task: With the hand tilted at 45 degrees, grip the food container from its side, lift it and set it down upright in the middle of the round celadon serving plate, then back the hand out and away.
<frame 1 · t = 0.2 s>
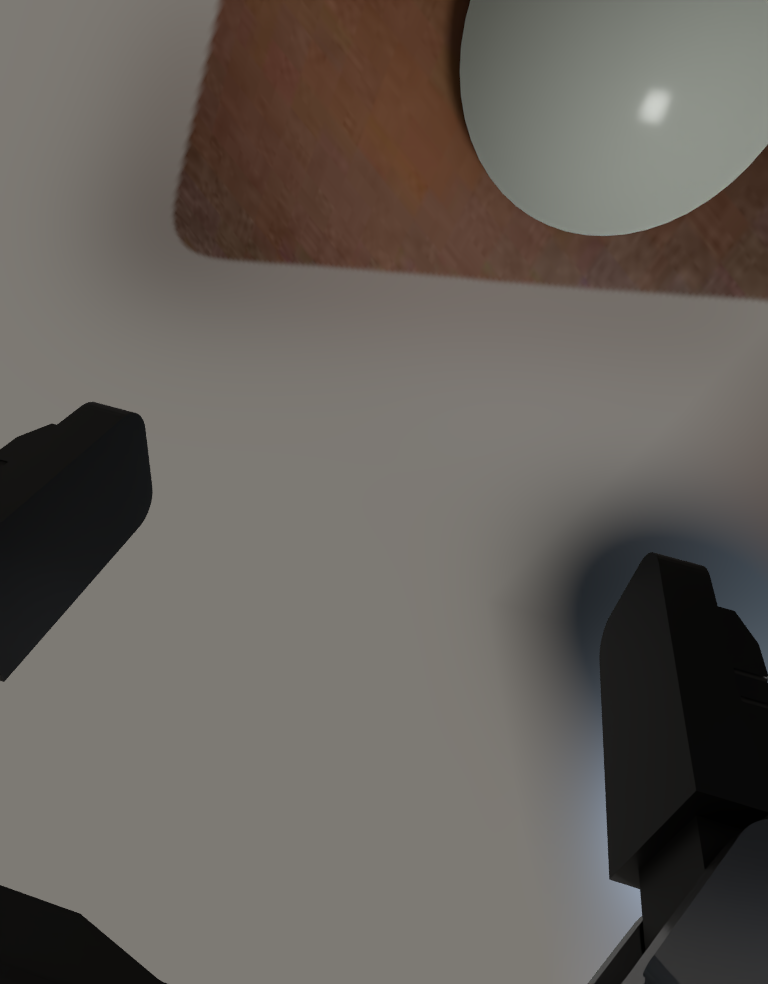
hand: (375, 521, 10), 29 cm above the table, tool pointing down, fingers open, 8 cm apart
serving plate: (625, 58, 28), on the table
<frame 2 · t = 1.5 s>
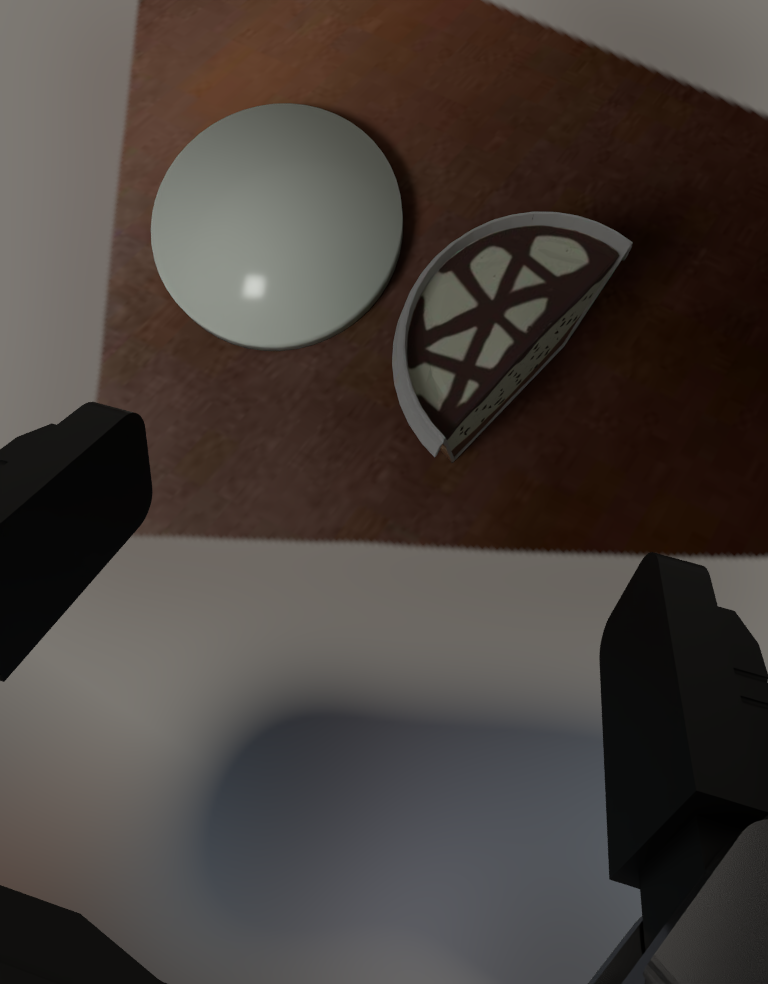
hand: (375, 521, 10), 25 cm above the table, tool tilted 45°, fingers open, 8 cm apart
food container: (468, 369, 36), on the table
serving plate: (279, 231, 37), on the table
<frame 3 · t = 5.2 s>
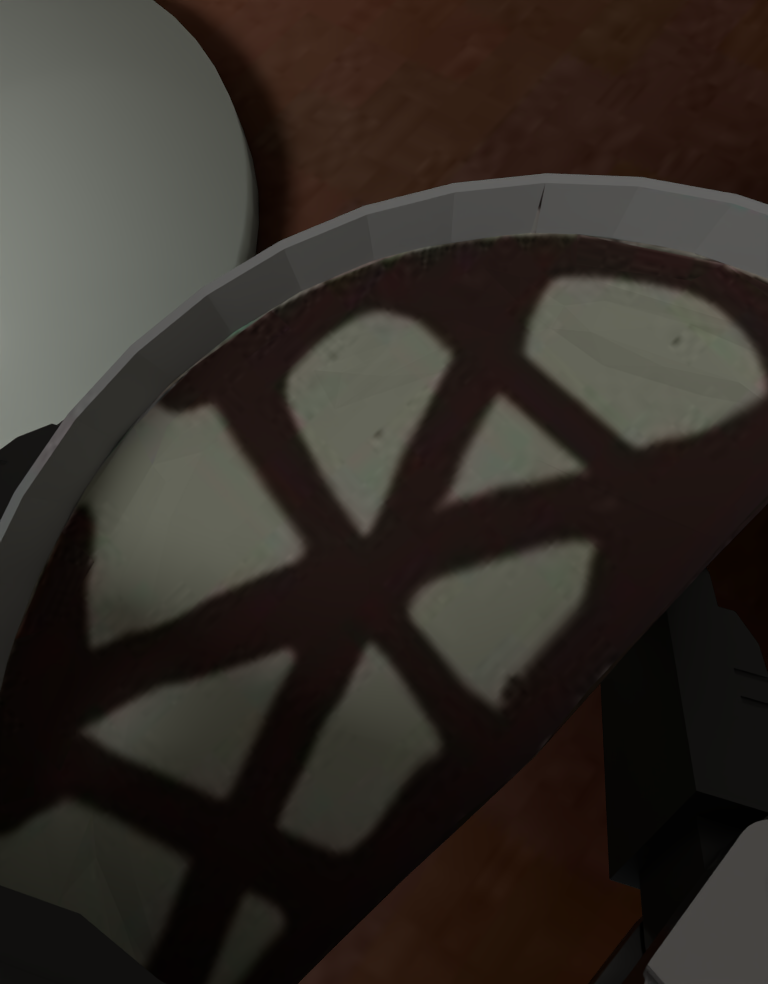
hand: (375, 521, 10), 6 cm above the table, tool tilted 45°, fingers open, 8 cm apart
food container: (383, 559, 16), on the table, touching gripper
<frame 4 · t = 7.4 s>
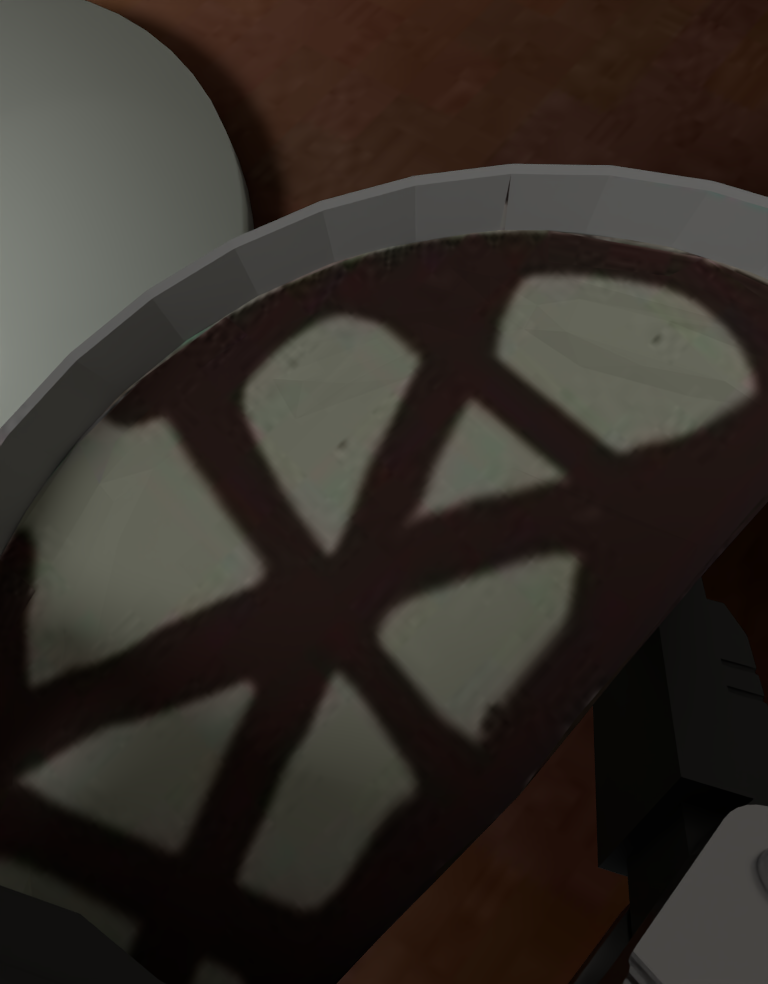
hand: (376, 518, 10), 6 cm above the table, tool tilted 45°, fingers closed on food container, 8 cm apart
food container: (366, 582, 15), point 1 cm above the table, touching gripper
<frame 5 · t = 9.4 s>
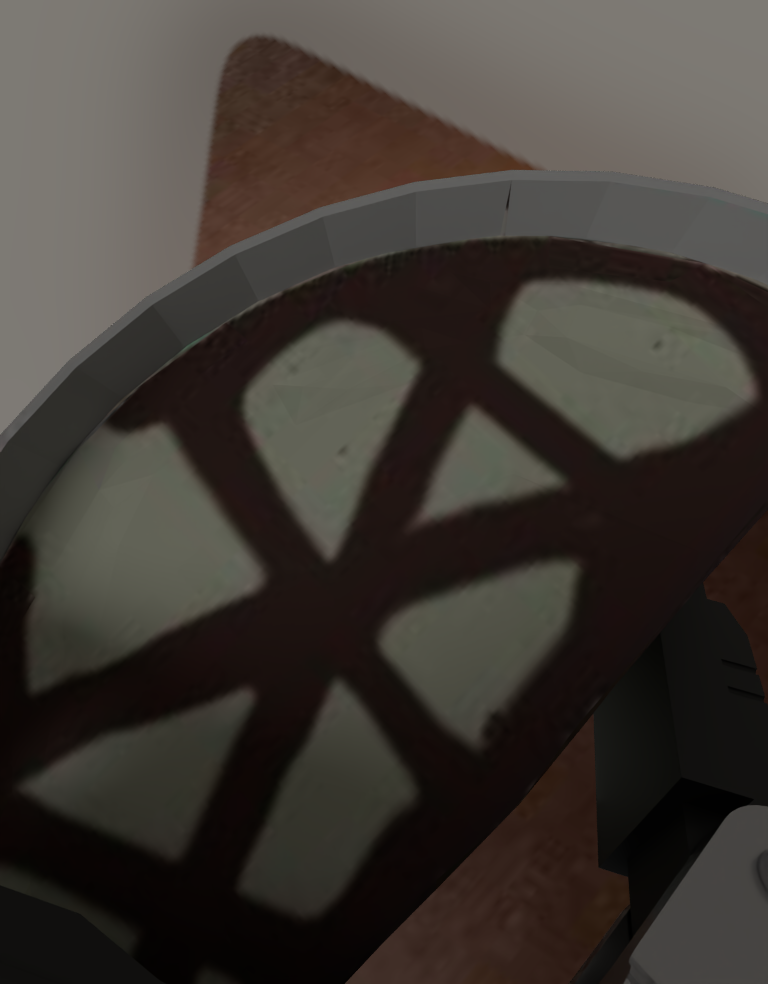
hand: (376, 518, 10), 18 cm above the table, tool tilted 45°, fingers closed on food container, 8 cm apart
food container: (366, 585, 15), point 12 cm above the table, touching gripper
when the fingers open (8 cm above the table, at t = 12.5 s): food container drops 1 cm, resting on serving plate.
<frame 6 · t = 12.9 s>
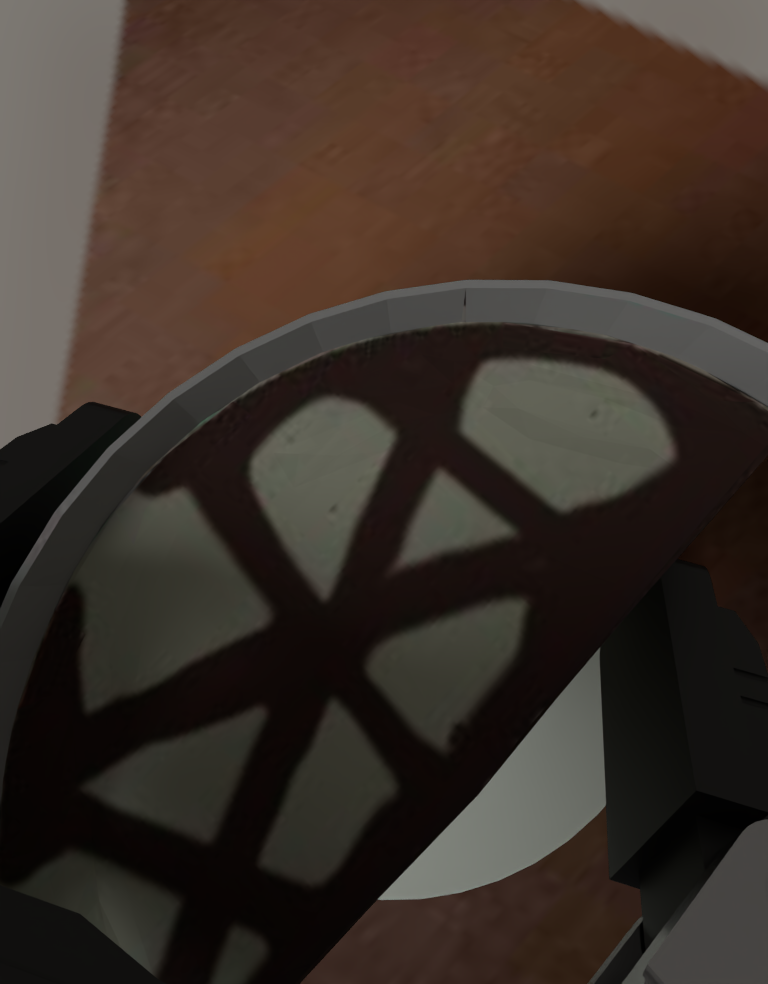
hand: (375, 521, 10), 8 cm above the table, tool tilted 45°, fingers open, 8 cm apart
food container: (365, 586, 16), point 1 cm above the table, touching serving plate
serving plate: (388, 591, 17), on the table
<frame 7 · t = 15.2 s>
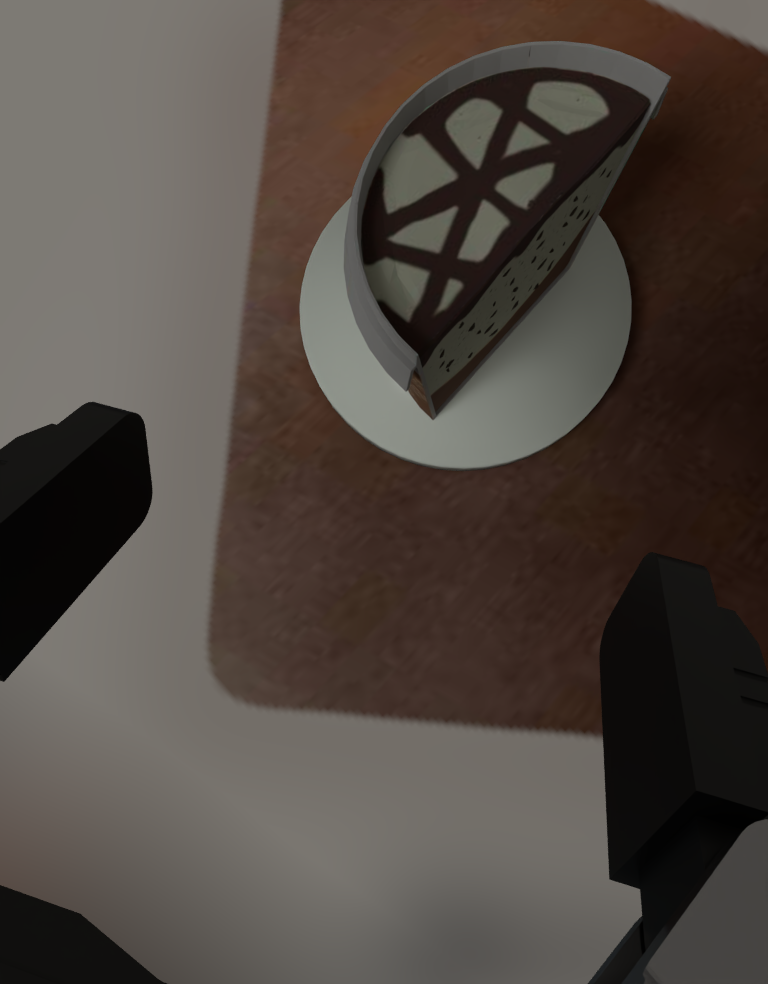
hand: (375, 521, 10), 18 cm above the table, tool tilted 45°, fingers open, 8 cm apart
food container: (450, 303, 28), point 1 cm above the table, touching serving plate
serving plate: (461, 315, 29), on the table
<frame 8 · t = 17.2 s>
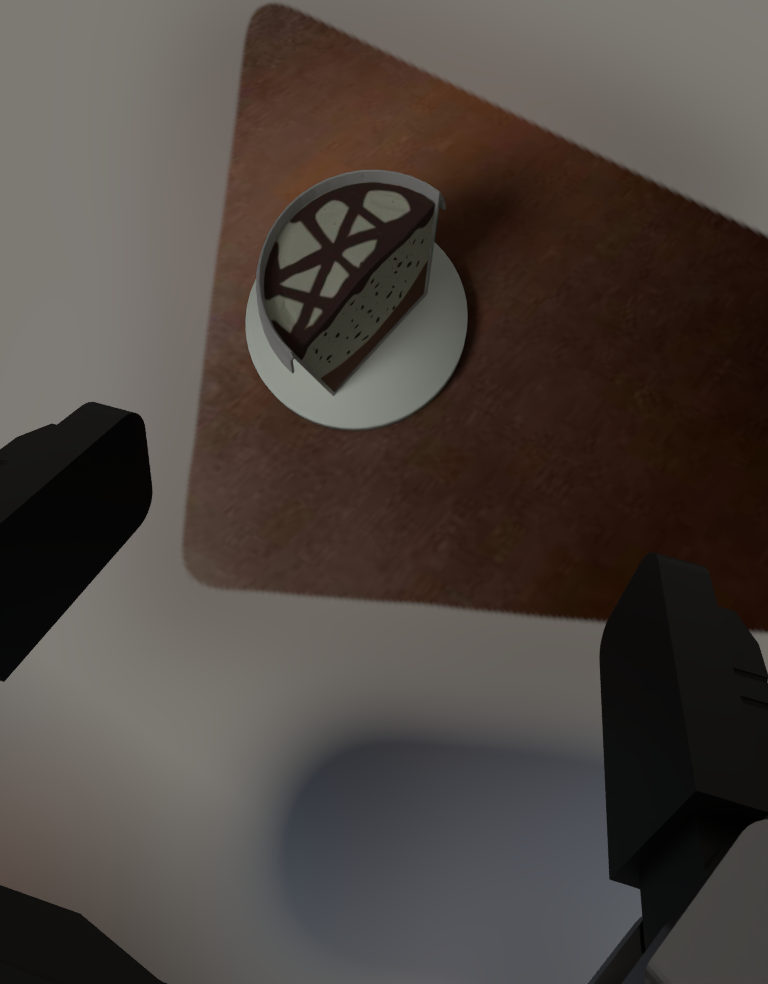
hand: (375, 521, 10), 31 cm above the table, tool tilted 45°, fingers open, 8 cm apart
food container: (347, 317, 42), point 1 cm above the table, touching serving plate
serving plate: (357, 324, 42), on the table
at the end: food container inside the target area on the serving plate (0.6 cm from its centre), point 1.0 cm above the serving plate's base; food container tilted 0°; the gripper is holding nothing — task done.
